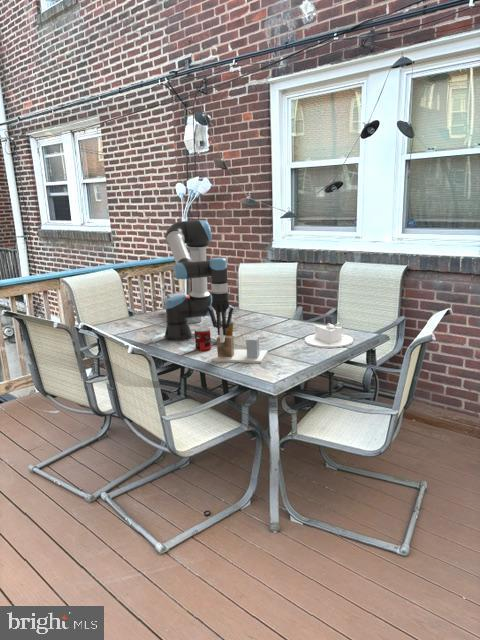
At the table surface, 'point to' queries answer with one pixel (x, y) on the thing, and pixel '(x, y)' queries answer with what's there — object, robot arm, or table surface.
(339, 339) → the dish
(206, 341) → the canned food
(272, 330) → the table surface
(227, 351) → the walnut block
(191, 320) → the soda pack
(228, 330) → the disposable coffee cup
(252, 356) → the grey block
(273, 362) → the table surface
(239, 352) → the board
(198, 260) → the robot arm
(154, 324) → the table surface
